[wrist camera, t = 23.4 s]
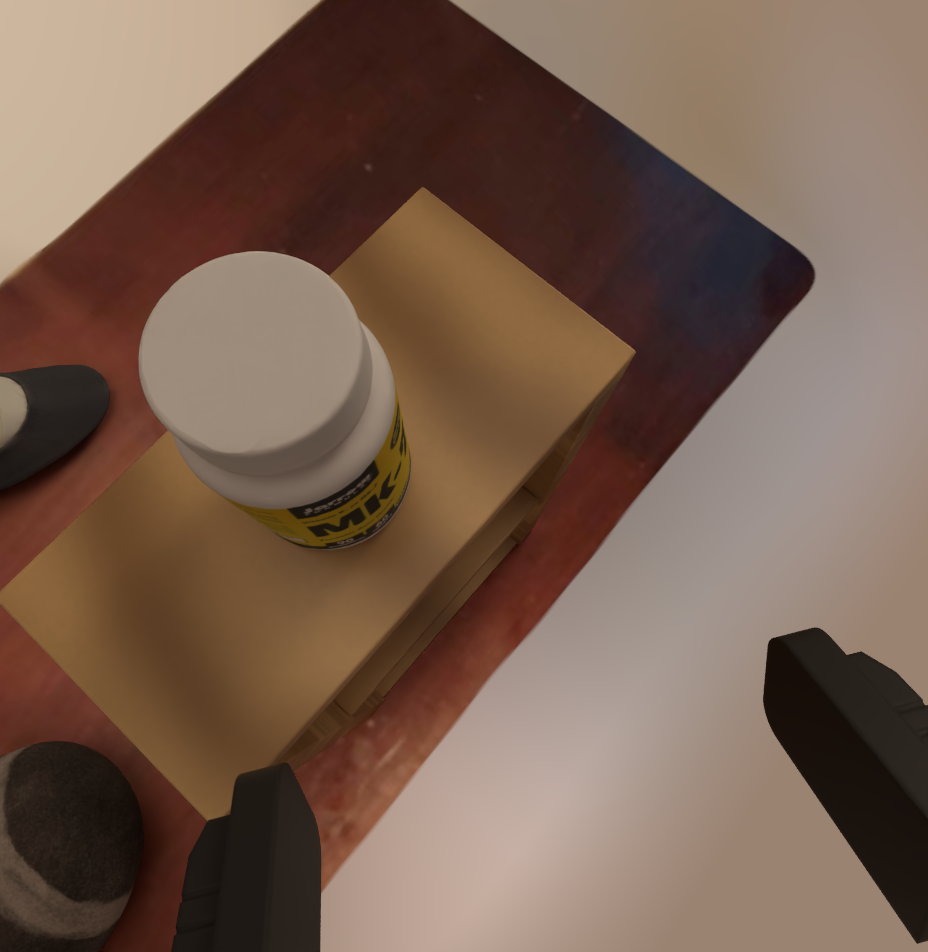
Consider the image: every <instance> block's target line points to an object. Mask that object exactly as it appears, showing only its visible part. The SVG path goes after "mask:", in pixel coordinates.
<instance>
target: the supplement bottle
mask: <svg viewBox="0 0 928 952" xmlns="http://www.w3.org/2000/svg"><path fill="white" fill-rule="evenodd" d="M139 374H140V381H141V385H142V388H143V392H144V394H145V397H146V399H147V401H148V403H149V405H150V407H151V409H152V410H153V412H154V413H155V415H156V416H157V418H158V419H159V420H160V421H161V423H162V424H163V425H164V426H165V427H166V428H167V429H168V430H169V431H170V432H171V433H172V435H173V438H174V441H175V444H176V446H177V448H178V450H179V452H180V454H181V456H182V458H183V459H184V461H185V462H186V464H187V465H188V467H189V468H190V469H191V471H192V472H193V473H194V474H195V475H196V477H197V478H199V479H200V480H201V481H202V482H203V483H204V484H205V485H206V486H208V487H209V488H210V489H212V490H213V491H214V492H216V493H217V494H219V495H220V496H221V497H223V498H224V499H226V500H227V501H229V502H230V503H232V504H233V505H235V506H236V507H238V508H239V509H241V510H242V511H243V512H245V513H246V514H248V515H249V516H251V517H252V518H254V519H255V520H256V521H258V522H259V523H261V524H262V525H264V526H265V527H267V528H268V529H270V530H271V531H272V532H273V533H275V534H276V535H278V536H279V537H281V538H283V539H285V540H287V541H289V542H291V543H293V544H295V545H298V546H301V547H305V548H309V549H315V550H336V549H343V548H347V547H351V546H354V545H357V544H359V543H362V542H364V541H366V540H367V539H369V538H371V537H372V536H374V535H375V534H377V533H378V532H379V531H381V530H382V529H383V528H384V527H385V526H386V525H387V524H388V523H389V522H390V521H391V520H392V519H393V517H394V516H395V514H396V513H397V511H398V510H399V508H400V506H401V505H402V503H403V500H404V498H405V496H406V493H407V490H408V487H409V483H410V477H411V457H410V451H409V446H408V441H407V436H406V432H405V428H404V423H403V418H402V413H401V408H400V405H399V400H398V395H397V389H396V385H395V381H394V377H393V373H392V370H391V367H390V364H389V362H388V359H387V357H386V355H385V353H384V351H383V349H382V347H381V345H380V344H379V342H378V341H377V339H376V338H375V336H374V335H373V334H372V333H371V331H370V330H369V329H368V328H367V327H366V326H365V325H364V324H363V323H362V322H361V321H360V320H359V319H358V316H357V314H356V311H355V309H354V307H353V305H352V303H351V302H350V300H349V298H348V297H347V295H346V294H345V293H344V291H343V290H342V289H341V288H340V287H339V285H338V284H337V283H336V282H335V281H334V280H333V279H331V278H330V277H329V276H328V275H327V274H325V273H324V272H323V271H321V270H320V269H318V268H317V267H315V266H313V265H311V264H309V263H307V262H305V261H303V260H301V259H298V258H295V257H291V256H288V255H284V254H279V253H273V252H258V251H254V252H243V253H237V254H231V255H227V256H223V257H220V258H217V259H214V260H212V261H210V262H207V263H205V264H203V265H201V266H199V267H197V268H196V269H194V270H192V271H191V272H189V273H188V274H186V275H185V276H183V277H182V278H180V279H179V280H178V281H177V282H176V283H175V284H174V285H172V286H171V288H170V289H169V290H168V291H167V292H166V293H165V294H164V295H163V297H162V298H161V299H160V300H159V302H158V303H157V305H156V306H155V308H154V309H153V311H152V312H151V314H150V316H149V318H148V320H147V323H146V325H145V328H144V331H143V334H142V338H141V342H140V348H139Z"/></svg>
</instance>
